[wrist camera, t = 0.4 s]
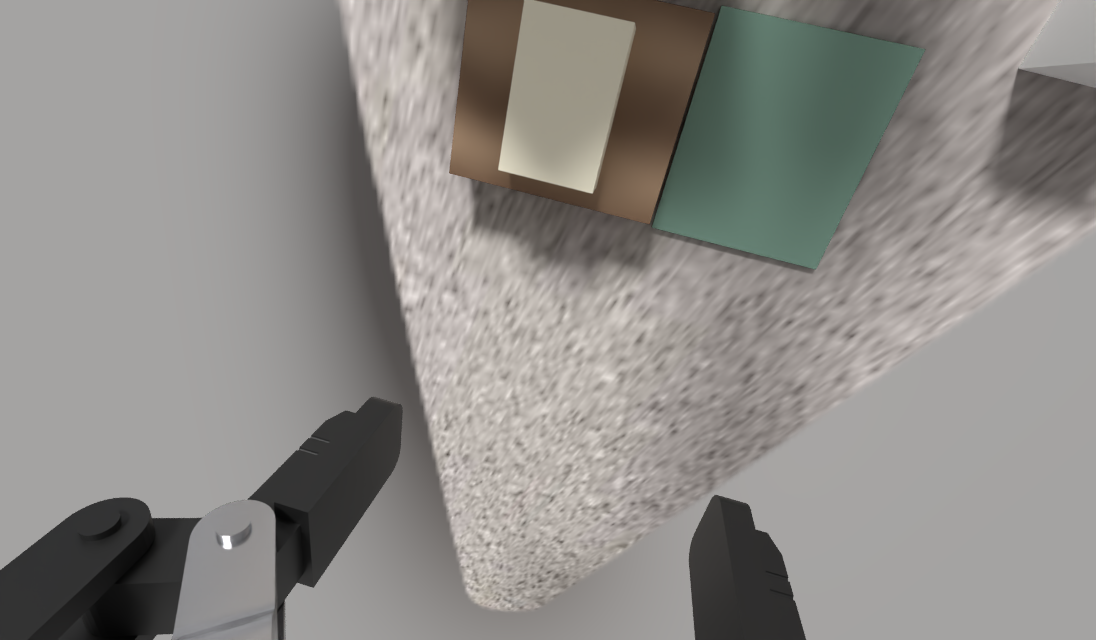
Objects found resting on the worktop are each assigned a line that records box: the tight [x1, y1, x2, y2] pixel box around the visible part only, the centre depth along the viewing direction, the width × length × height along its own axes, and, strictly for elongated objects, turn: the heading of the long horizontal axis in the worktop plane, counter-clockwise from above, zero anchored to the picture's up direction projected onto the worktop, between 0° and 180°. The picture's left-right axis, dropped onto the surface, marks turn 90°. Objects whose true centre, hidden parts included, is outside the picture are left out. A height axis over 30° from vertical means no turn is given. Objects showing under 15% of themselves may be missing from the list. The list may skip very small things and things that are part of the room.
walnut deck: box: [449, 0, 715, 224], centre depth 31 cm, size 12×14×4 cm
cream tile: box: [498, 0, 636, 194], centre depth 28 cm, size 9×6×2 cm, turn 167°
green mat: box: [652, 6, 925, 269], centre depth 31 cm, size 14×12×1 cm
